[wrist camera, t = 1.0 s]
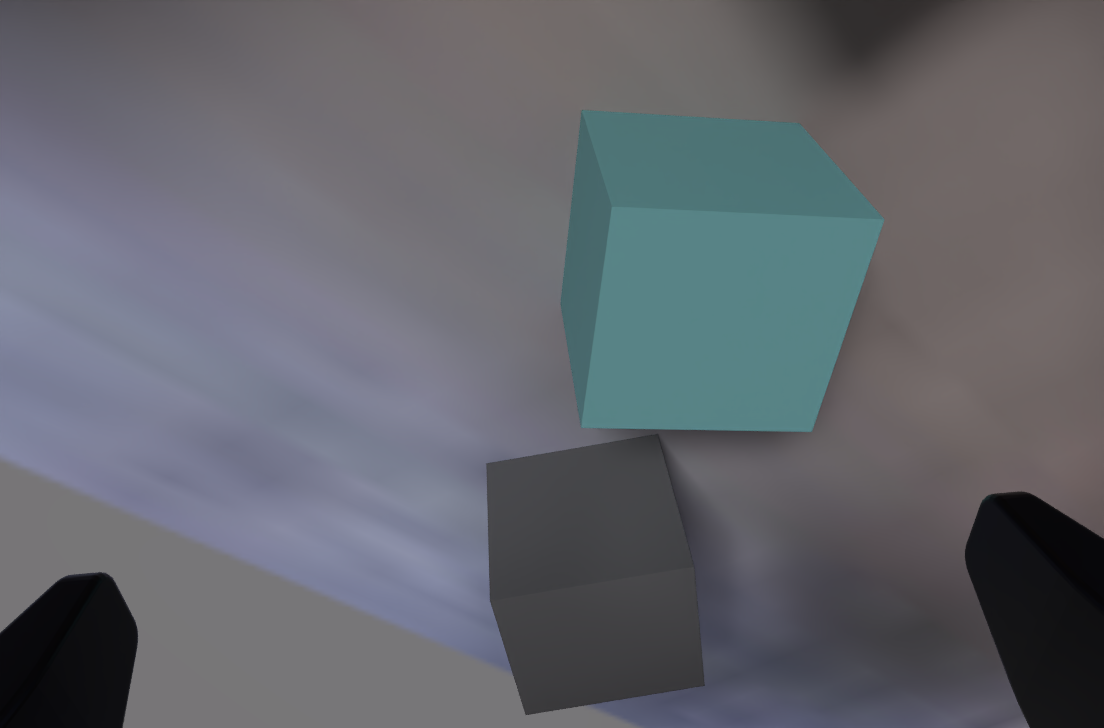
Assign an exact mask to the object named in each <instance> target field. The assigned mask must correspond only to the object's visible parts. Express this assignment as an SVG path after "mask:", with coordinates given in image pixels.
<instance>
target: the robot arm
mask: <svg viewBox="0 0 1104 728" xmlns="http://www.w3.org/2000/svg"><path fill="white" fill-rule="evenodd" d="M965 561H966V566H967V570H968V573H969V575H970V578H971V581H972V583H973V586H974V589H975V591H976V594H977V597H978V599H979V602H980V605H981V607H982V610H983V613H984V615H985V618H986V621H987V623H988V626H989V629H990V631H991V634H992V637H993V639H994V642H995V645H996V647H997V650H998V653H999V655H1000V658H1001V661H1002V663H1003V666H1004V669H1005V671H1006V674H1007V677H1008V679H1009V682H1010V684H1011V687H1012V689H1013V692H1014V694H1015V696H1016V699H1017V701H1018V704H1019V706H1020V708H1021V710H1022V712H1023V714H1024V716H1025V719H1026V721H1027V723H1028V725H1029V727H1030V728H1104V539H1103V538H1102V537H1100V536H1099V535H1097V534H1095V533H1094V532H1092V531H1091V530H1089V529H1087V528H1086V527H1084V526H1083V525H1081V524H1079V523H1078V522H1076V521H1075V520H1073V519H1071V518H1070V517H1068V516H1067V515H1065V514H1063V513H1062V512H1060V511H1059V510H1057V509H1055V508H1054V507H1052V506H1051V505H1049V504H1047V503H1046V502H1044V501H1043V500H1041V499H1039V498H1038V497H1036V496H1034V495H1032V494H1030V493H1027V492H1009V493H997V494H991V495H988V496H987V497H986V498H985V499H984V500H982V502H981V505H980V507H979V510H978V513H977V516H976V519H975V521H974V524H973V527H972V530H971V533H970V536H969V538H968V541H967V544H966V549H965ZM137 643H138V631H137V626H136V622H135V620H134V618H133V616H132V614H131V612H130V610H129V608H128V606H127V604H126V602H125V600H124V598H123V596H122V595H121V593H120V591H119V589H118V587H117V585H116V583H115V581H114V580H113V578H112V577H111V576H109V575H108V574H106V573H102V572H98V573H87V574H76V575H68V576H65V577H63V578H61V579H60V580H58V581H57V582H56V583H55V584H54V585H52V586H51V587H50V588H49V589H48V590H47V591H46V592H45V593H44V594H42V595H41V596H40V597H39V598H38V599H37V600H36V601H35V602H34V603H32V604H31V605H30V606H29V607H28V608H27V609H26V610H25V611H24V612H23V613H22V614H20V615H19V616H18V617H17V618H16V619H15V620H14V621H13V622H12V623H10V624H9V625H8V626H7V627H6V628H5V629H4V630H3V631H2V632H1V633H0V728H123V722H124V717H125V711H126V706H127V700H128V695H129V689H130V684H131V679H132V673H133V667H134V662H135V657H136V651H137Z"/></svg>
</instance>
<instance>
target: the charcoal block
mask: <svg viewBox="0 0 1104 728" xmlns="http://www.w3.org/2000/svg"><path fill="white" fill-rule="evenodd" d="M486 465H487V503H488V540H489V578H490V602H491V605H492V608H493V612H494V615H495V618H496V621H497V624H498V628H499V631H500V634H501V637H502V640H503V644H504V647H505V650H506V653H507V656H508V660H509V663H510V666H511V669H512V672H513V676H514V679H515V682H516V685H517V688H518V692H519V695H520V698H521V701H522V704H523V708H524V711H525V714H526V715H529V714H535V713H541V712H547V711H553V710H559V709H566V708H572V707H578V706H584V705H590V704H596V703H602V702H608V701H614V700H620V699H626V698H633V697H639V696H645V695H651V694H657V693H663V692H669V691H675V690H681V689H687V688H694V687H700V686H705V685H704V673H703V662H702V650H701V639H700V628H699V616H698V605H697V593H696V582H695V570H694V564H693V561H692V557H691V553H690V550H689V546H688V543H687V539H686V535H685V532H684V528H683V524H682V521H681V517H680V514H679V510H678V506H677V503H676V499H675V496H674V492H673V488H672V485H671V481H670V478H669V474H668V470H667V467H666V463H665V460H664V456H663V452H662V449H661V445H660V441H659V438H658V434H656V435H650V436H644V437H638V438H633V439H627V440H621V441H615V442H609V443H603V444H598V445H592V446H586V447H580V448H574V449H568V450H563V451H557V452H551V453H545V454H539V455H533V456H528V457H522V458H516V459H510V460H504V461H498V462H493V463H487V464H486Z"/></svg>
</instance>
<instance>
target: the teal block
mask: <svg viewBox="0 0 1104 728" xmlns="http://www.w3.org/2000/svg"><path fill="white" fill-rule="evenodd" d="M883 222H884V219H883V217H882V216H881V215H880V214H879V213H878V212H877V211H876V209H875V208H874V207H873V206H872V205H871V204H870V203H869V202H868V200H867V199H866V198H865V197H864V196H863V195H862V194H861V192H860V191H859V190H858V189H857V188H856V187H855V186H854V185H853V183H852V182H851V181H850V180H849V179H848V178H847V177H846V176H845V174H844V173H843V172H842V171H841V170H840V169H839V168H838V166H837V165H836V164H835V163H834V162H833V161H832V160H831V159H830V157H829V156H828V155H827V154H826V153H825V152H824V151H823V150H822V148H821V147H820V146H819V145H818V144H817V143H816V142H815V140H814V139H813V138H812V137H811V136H810V135H809V134H808V133H807V131H806V130H805V129H804V128H803V127H802V126H801V125H800V124H799V123H786V122H770V121H753V120H737V119H720V118H704V117H687V116H671V115H654V114H637V113H621V112H604V111H588V110H582V112H581V121H580V131H579V140H578V149H577V158H576V167H575V176H574V185H573V194H572V204H571V213H570V222H569V231H568V240H567V249H566V258H565V267H564V277H563V286H562V295H561V309H562V316H563V322H564V328H565V334H566V340H567V346H568V352H569V358H570V364H571V370H572V376H573V382H574V388H575V394H576V400H577V406H578V412H579V418H580V424H581V428H617V429H674V430H732V431H790V432H812V430H813V427H814V424H815V421H816V418H817V415H818V412H819V409H820V406H821V404H822V401H823V398H824V395H825V392H826V389H827V386H828V383H829V380H830V377H831V374H832V371H833V368H834V366H835V363H836V360H837V357H838V354H839V351H840V348H841V345H842V342H843V339H844V336H845V333H846V330H847V328H848V325H849V322H850V319H851V316H852V313H853V310H854V307H855V304H856V301H857V298H858V295H859V292H860V290H861V287H862V284H863V281H864V278H865V275H866V272H867V269H868V266H869V263H870V260H871V257H872V254H873V252H874V249H875V246H876V243H877V240H878V237H879V234H880V231H881V228H882V225H883Z"/></svg>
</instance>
